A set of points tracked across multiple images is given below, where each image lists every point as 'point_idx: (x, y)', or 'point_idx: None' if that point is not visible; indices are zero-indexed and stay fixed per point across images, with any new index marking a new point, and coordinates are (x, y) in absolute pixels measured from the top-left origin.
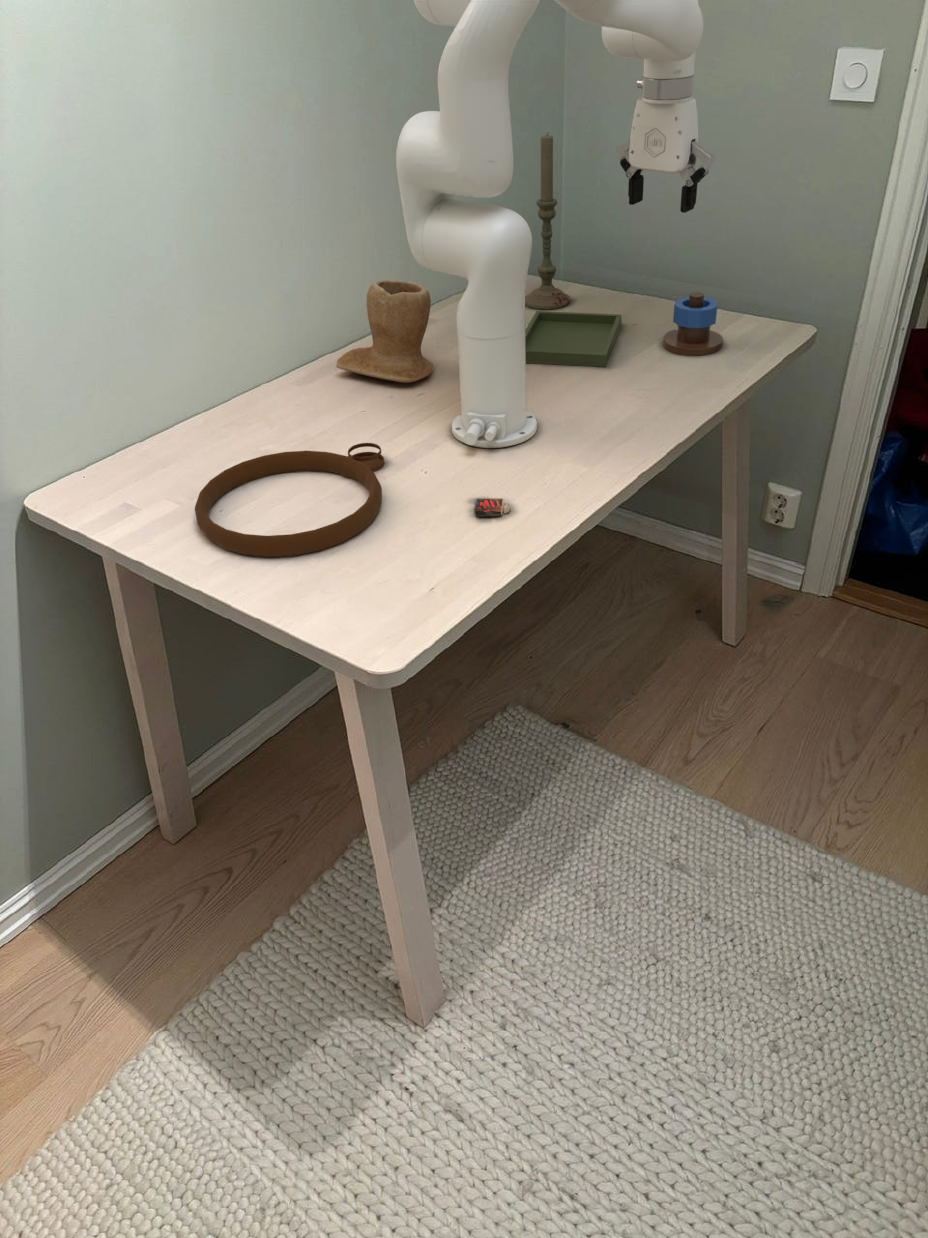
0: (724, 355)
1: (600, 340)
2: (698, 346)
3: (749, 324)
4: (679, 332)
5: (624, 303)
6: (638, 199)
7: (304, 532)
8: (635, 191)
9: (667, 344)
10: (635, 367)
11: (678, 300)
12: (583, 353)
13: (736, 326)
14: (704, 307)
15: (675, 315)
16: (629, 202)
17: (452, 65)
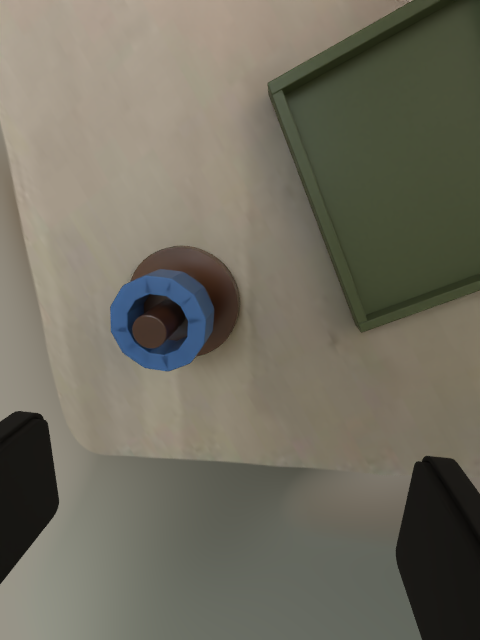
0: (114, 284)
1: (348, 211)
2: (151, 271)
3: (157, 429)
4: None
5: (407, 433)
6: (408, 527)
7: None
8: (450, 557)
9: (208, 254)
10: (214, 133)
11: (201, 324)
12: (320, 55)
13: (170, 413)
14: (126, 309)
15: (192, 283)
16: (450, 460)
17: None
